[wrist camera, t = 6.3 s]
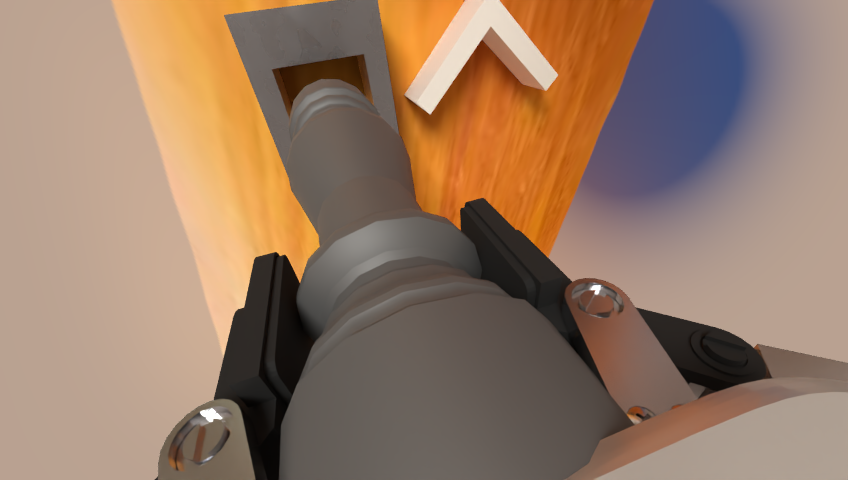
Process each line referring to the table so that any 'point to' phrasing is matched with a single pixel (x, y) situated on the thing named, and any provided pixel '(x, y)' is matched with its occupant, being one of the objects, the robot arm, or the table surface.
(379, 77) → the gray hollow block
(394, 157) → the candle holder
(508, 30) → the angle bracket
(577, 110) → the table surface
